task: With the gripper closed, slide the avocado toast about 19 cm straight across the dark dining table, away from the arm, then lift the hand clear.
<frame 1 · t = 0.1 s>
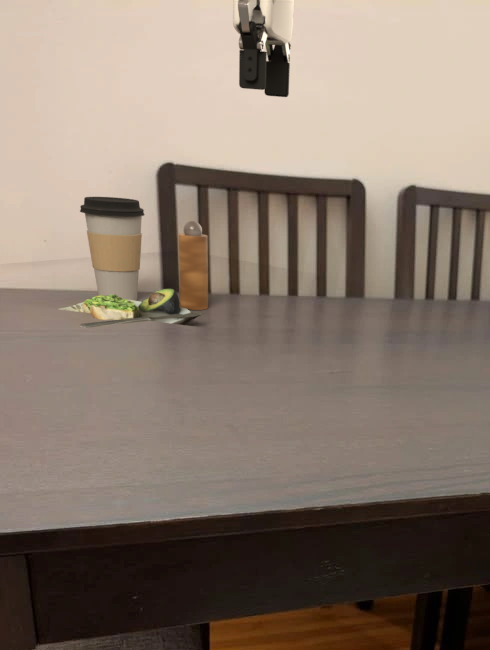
hand: (265, 92, 93), 30 cm above the table, tool pointing down, fingers open, 9 cm apart
pepper grinder: (193, 307, 116), on the table
avocado toast: (127, 325, 102), on the table
coffee cup: (117, 300, 117), on the table
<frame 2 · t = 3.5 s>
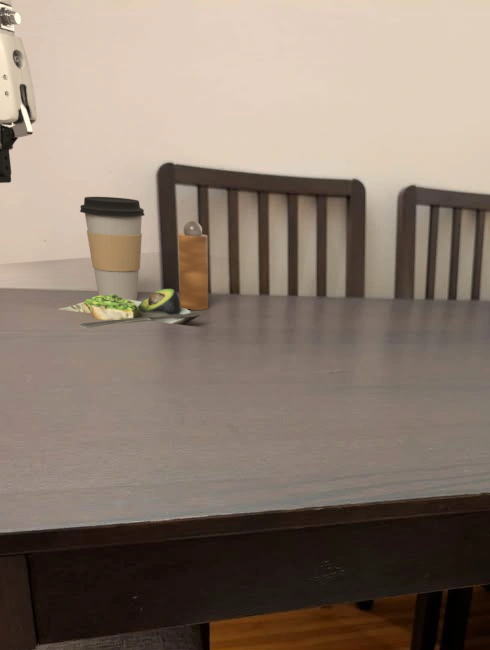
nothing on the table moved.
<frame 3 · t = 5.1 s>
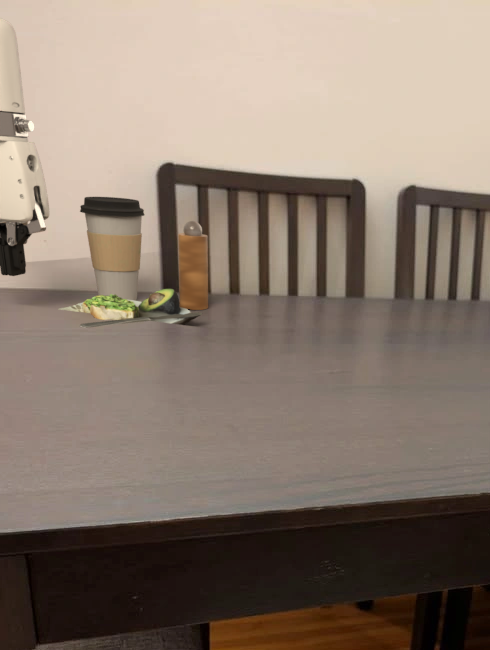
hand: (13, 274, 101), 5 cm above the table, tool pointing down, fingers closed
nothing on the table moved.
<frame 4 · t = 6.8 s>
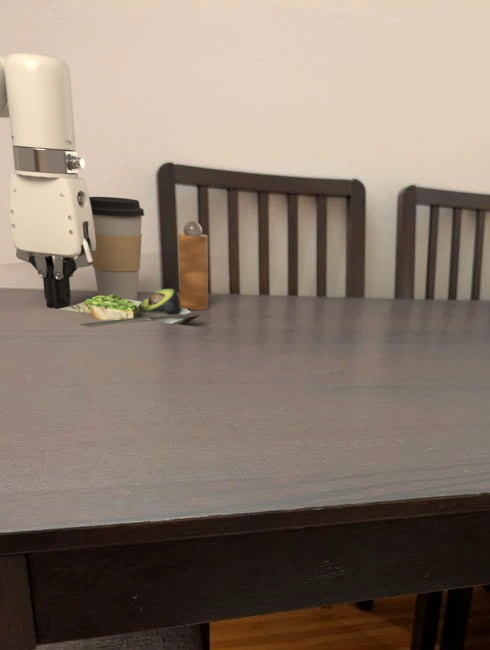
hand: (58, 306, 102), 2 cm above the table, tool pointing down, fingers closed
avocado toast: (127, 325, 102), on the table, touching gripper
everything else where it was.
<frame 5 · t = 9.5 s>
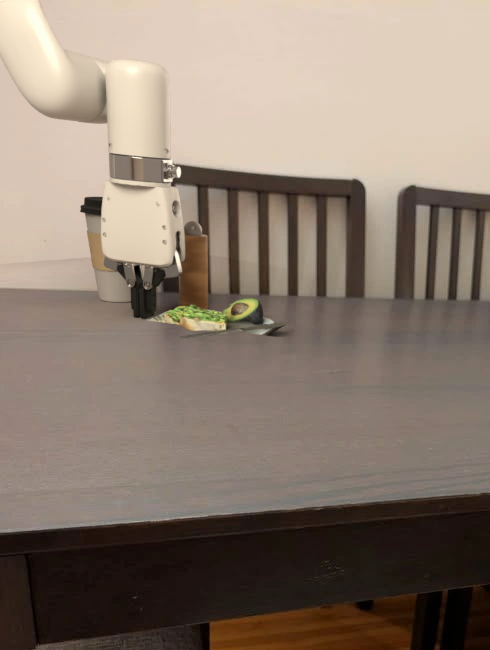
hand: (144, 316, 100), 2 cm above the table, tool pointing down, fingers closed
avocado toast: (213, 336, 100), on the table, touching gripper
everything else where it was.
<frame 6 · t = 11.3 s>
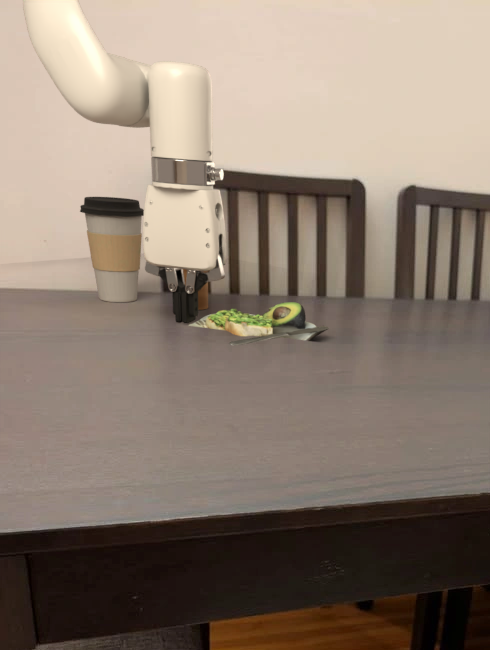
hand: (185, 320, 99), 2 cm above the table, tool pointing down, fingers closed
avocado toast: (255, 340, 100), on the table, touching gripper
everything else where it was.
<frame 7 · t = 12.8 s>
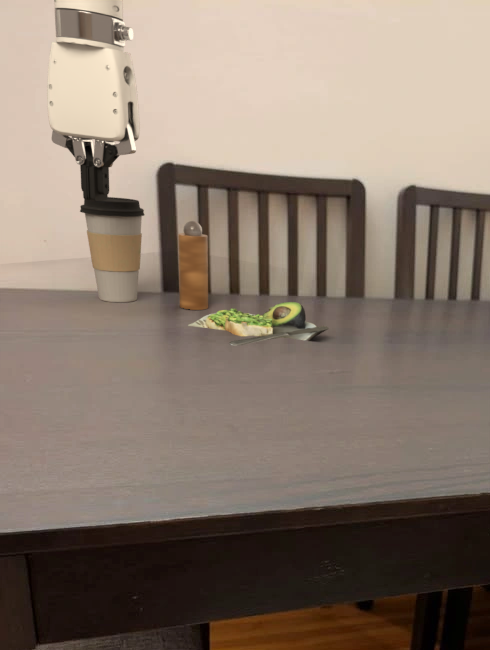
hand: (95, 199, 93), 16 cm above the table, tool pointing down, fingers closed
avocado toast: (255, 340, 100), on the table
everything else where it was.
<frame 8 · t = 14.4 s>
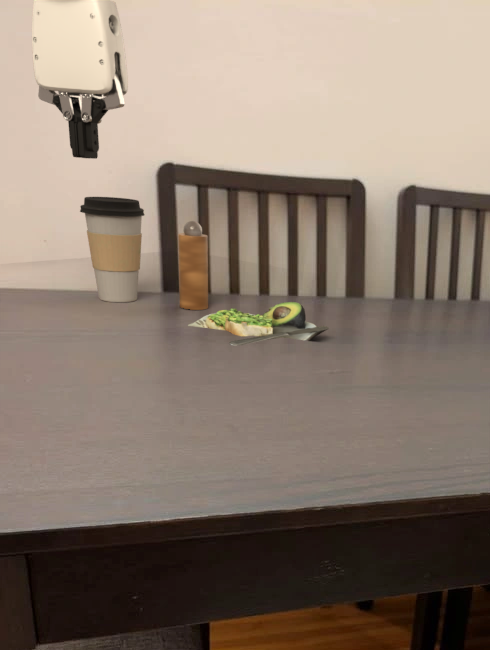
hand: (85, 157, 91), 21 cm above the table, tool pointing down, fingers closed
nothing on the table moved.
at the end: avocado toast inside the target area (1.7 cm from its centre), on the table; avocado toast moved 18.5 cm from its start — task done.
